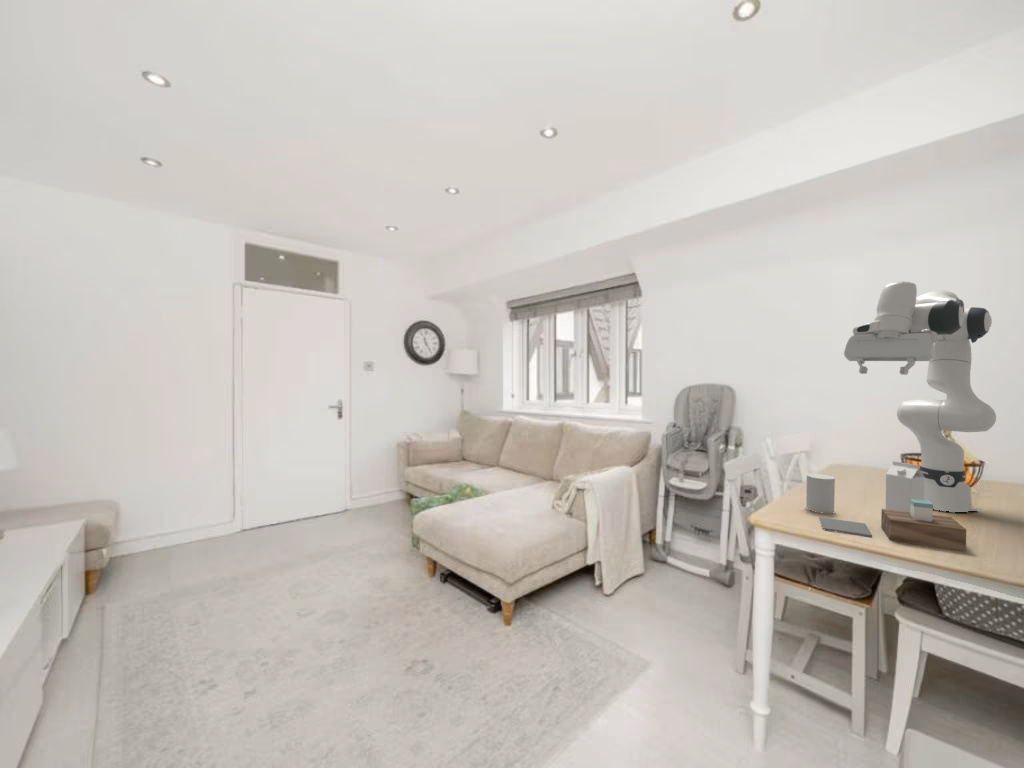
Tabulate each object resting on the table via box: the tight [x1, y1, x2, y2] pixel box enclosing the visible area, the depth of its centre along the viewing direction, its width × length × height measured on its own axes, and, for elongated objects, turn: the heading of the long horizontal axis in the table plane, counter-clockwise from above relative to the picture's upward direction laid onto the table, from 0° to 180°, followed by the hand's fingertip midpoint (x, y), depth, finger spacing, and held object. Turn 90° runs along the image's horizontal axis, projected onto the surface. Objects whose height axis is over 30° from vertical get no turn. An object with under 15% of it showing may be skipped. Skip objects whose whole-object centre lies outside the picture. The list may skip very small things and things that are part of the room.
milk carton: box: [885, 460, 925, 512], centre depth 145 cm, size 7×7×19 cm
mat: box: [819, 516, 873, 538], centre depth 138 cm, size 12×12×1 cm
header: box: [880, 508, 967, 552], centre depth 129 cm, size 12×16×6 cm
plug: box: [910, 499, 934, 522], centre depth 129 cm, size 4×4×11 cm
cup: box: [805, 473, 836, 514], centre depth 156 cm, size 8×8×12 cm
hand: (882, 373), depth 129 cm, fingers open, 8 cm apart
